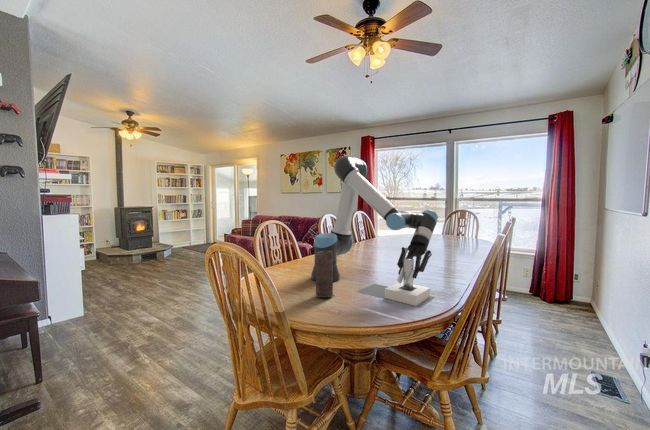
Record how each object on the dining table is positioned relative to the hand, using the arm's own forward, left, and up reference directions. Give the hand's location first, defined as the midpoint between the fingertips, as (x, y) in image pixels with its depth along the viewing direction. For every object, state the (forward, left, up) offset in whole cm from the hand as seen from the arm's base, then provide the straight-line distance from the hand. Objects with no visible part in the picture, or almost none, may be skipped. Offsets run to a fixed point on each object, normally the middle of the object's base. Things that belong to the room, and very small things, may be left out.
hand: (404, 282), depth 126 cm
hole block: (0, +4, -7) cm, 8 cm away
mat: (-6, +4, -8) cm, 11 cm away
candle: (-28, -18, -8) cm, 34 cm away
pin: (0, +4, -5) cm, 6 cm away
